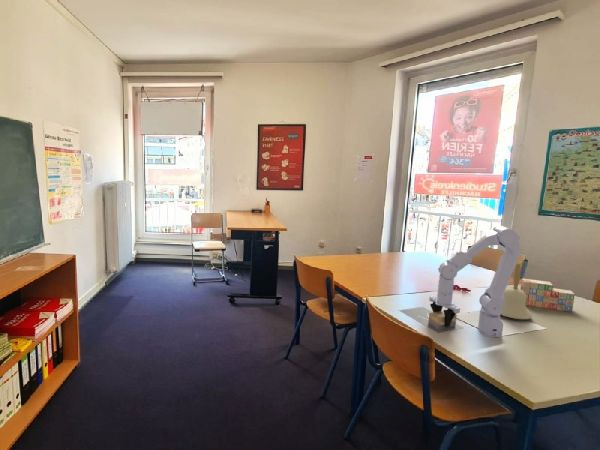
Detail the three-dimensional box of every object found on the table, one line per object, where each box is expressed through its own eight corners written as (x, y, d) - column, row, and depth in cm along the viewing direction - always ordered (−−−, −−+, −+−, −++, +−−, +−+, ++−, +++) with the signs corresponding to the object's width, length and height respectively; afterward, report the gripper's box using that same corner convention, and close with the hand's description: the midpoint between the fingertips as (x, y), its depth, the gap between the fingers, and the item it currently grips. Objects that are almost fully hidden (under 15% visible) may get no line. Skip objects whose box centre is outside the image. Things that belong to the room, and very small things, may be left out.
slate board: (463, 330, 142) (463, 327, 142) (437, 335, 137) (438, 332, 137) (422, 309, 164) (422, 306, 164) (398, 312, 159) (398, 310, 158)
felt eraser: (446, 321, 148) (447, 310, 147) (455, 326, 144) (456, 314, 143) (428, 324, 144) (429, 313, 143) (437, 329, 140) (438, 317, 139)
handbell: (521, 325, 150) (529, 269, 146) (486, 313, 162) (493, 261, 159) (537, 318, 158) (545, 265, 155) (503, 307, 171) (509, 258, 167)
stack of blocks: (568, 308, 173) (572, 284, 171) (572, 312, 167) (576, 288, 165) (518, 300, 182) (521, 277, 180) (520, 304, 176) (523, 280, 174)
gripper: (425, 287, 147) (422, 317, 149) (451, 299, 134) (448, 332, 136) (437, 285, 150) (434, 315, 152) (465, 297, 136) (461, 329, 138)
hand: (442, 323), depth 144 cm, fingers closed on felt eraser, 5 cm apart
